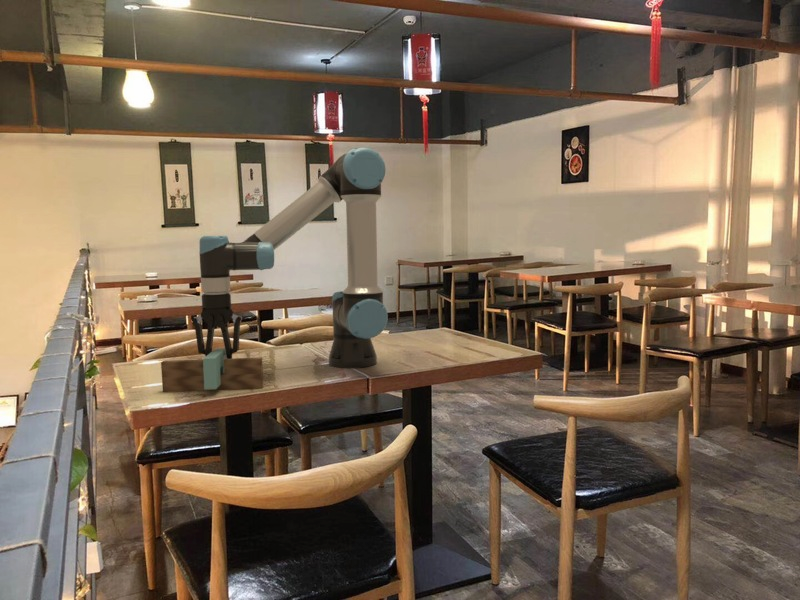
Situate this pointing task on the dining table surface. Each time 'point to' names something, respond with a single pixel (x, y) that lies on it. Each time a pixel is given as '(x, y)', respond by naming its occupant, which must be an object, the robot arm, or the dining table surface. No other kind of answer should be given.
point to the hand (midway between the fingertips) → (220, 378)
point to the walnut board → (234, 377)
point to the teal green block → (213, 368)
